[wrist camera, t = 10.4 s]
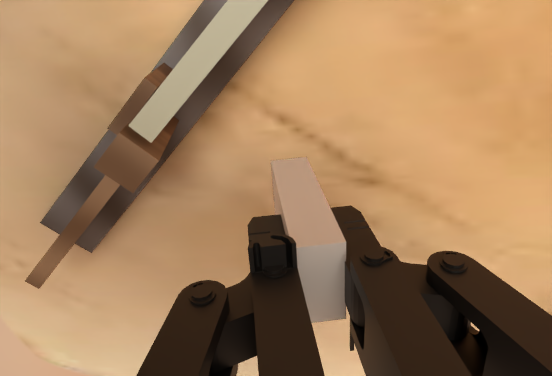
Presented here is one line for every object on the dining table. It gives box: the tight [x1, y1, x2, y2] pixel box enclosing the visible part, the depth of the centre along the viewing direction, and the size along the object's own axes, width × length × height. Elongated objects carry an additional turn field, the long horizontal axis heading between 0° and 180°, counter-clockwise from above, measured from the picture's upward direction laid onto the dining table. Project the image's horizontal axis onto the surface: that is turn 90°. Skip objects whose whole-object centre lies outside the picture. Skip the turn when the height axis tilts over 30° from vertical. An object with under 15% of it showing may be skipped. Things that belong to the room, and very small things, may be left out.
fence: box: [25, 0, 294, 288], centre depth 24 cm, size 38×4×9 cm, turn 139°
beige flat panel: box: [129, 0, 268, 143], centre depth 24 cm, size 14×1×8 cm, turn 138°
